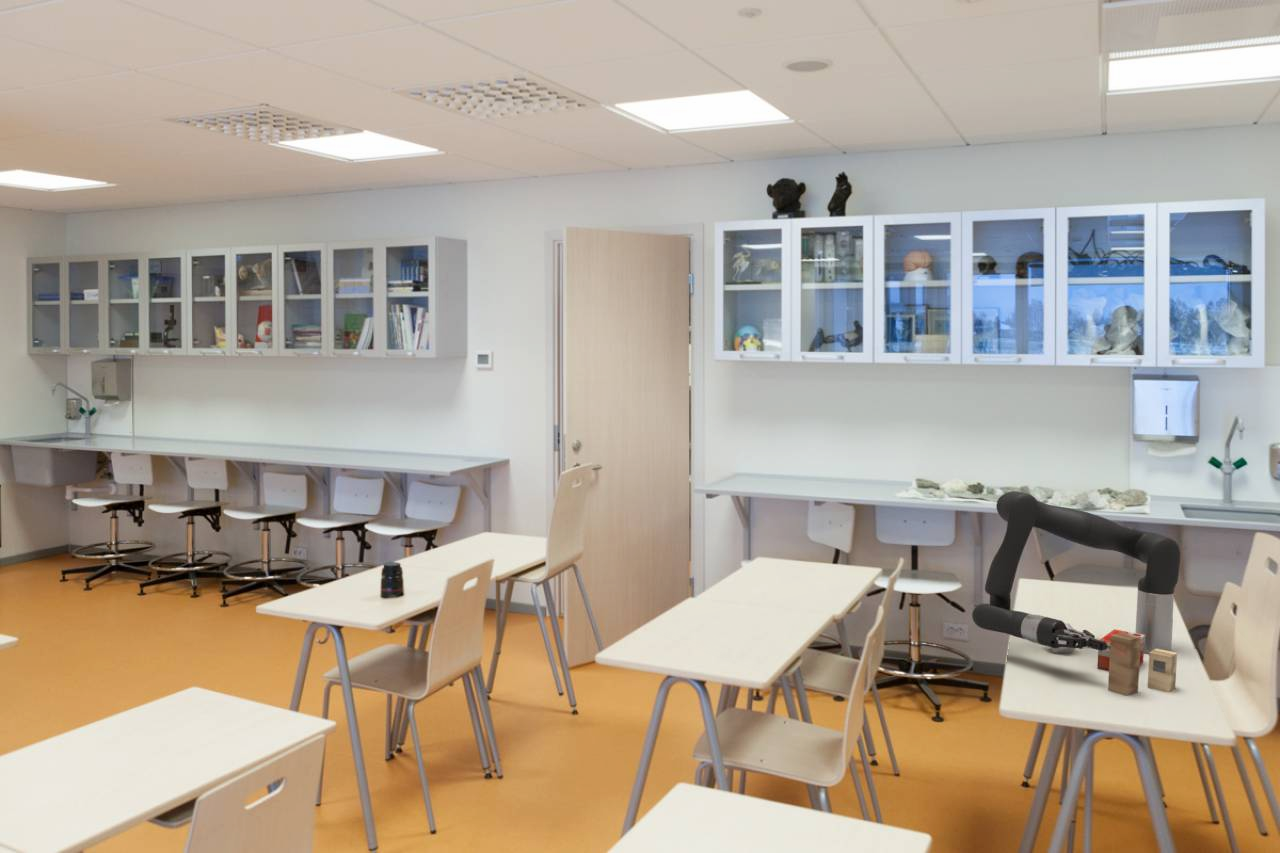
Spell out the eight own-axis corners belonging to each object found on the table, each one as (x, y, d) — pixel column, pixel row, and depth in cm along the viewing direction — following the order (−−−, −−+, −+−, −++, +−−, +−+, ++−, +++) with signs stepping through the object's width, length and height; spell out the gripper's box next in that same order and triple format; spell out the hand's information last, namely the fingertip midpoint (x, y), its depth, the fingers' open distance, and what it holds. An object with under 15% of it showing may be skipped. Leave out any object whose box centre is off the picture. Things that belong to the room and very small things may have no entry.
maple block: (1154, 682, 263) (1156, 648, 262) (1175, 687, 260) (1177, 652, 259) (1147, 687, 259) (1149, 652, 259) (1168, 692, 256) (1170, 657, 255)
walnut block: (1118, 686, 260) (1121, 632, 259) (1137, 691, 256) (1140, 636, 255) (1107, 690, 257) (1110, 635, 256) (1127, 695, 253) (1130, 640, 252)
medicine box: (1129, 675, 269) (1130, 646, 268) (1096, 669, 274) (1098, 640, 273) (1144, 662, 281) (1145, 634, 280) (1112, 656, 286) (1114, 628, 285)
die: (1074, 660, 284) (1089, 630, 286) (1046, 643, 285) (1061, 613, 287) (1062, 662, 291) (1076, 633, 294) (1035, 645, 293) (1049, 616, 295)
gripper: (1029, 620, 270) (1091, 636, 256) (1058, 613, 277) (1119, 628, 263) (1028, 648, 270) (1089, 665, 256) (1057, 640, 278) (1118, 656, 264)
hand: (1104, 646), depth 260 cm, fingers closed
